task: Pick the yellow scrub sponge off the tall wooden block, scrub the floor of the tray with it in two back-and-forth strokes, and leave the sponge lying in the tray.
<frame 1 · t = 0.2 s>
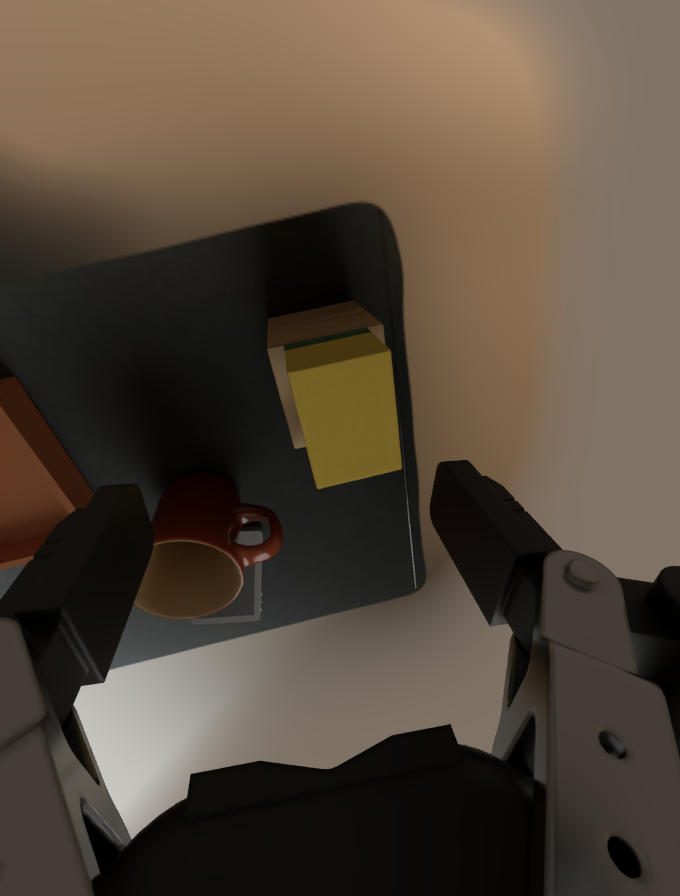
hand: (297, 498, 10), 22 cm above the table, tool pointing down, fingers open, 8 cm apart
sponge: (335, 390, 23), point 9 cm above the table, touching tall wooden block
smartphone: (226, 575, 42), on the table
tall wooden block: (319, 352, 31), on the table
mug: (220, 493, 36), on the table
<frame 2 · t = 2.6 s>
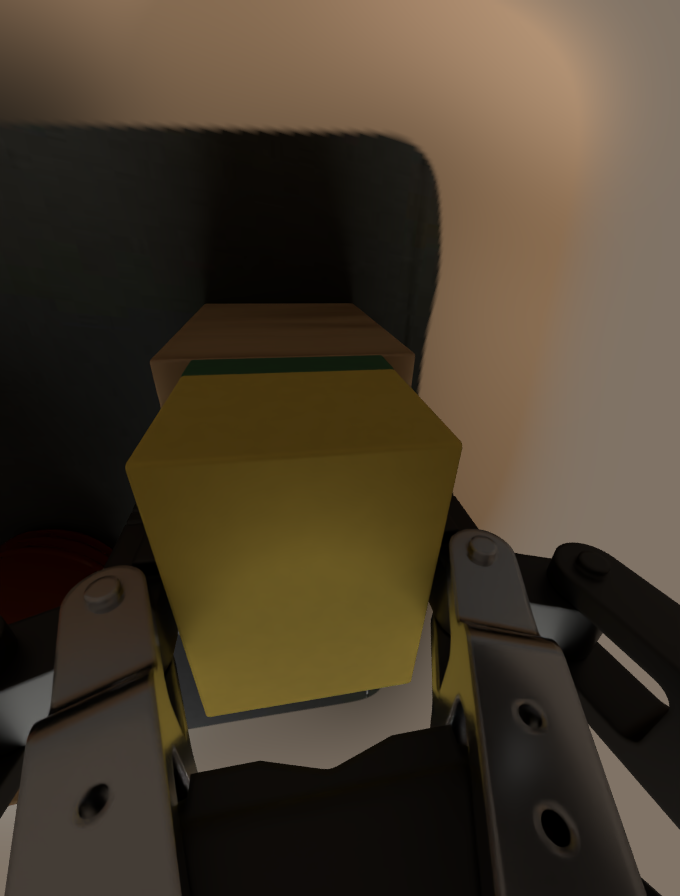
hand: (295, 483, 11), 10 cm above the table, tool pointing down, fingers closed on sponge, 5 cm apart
sponge: (295, 468, 11), point 9 cm above the table, touching gripper, tall wooden block
tall wooden block: (285, 374, 19), on the table
mug: (97, 559, 23), on the table
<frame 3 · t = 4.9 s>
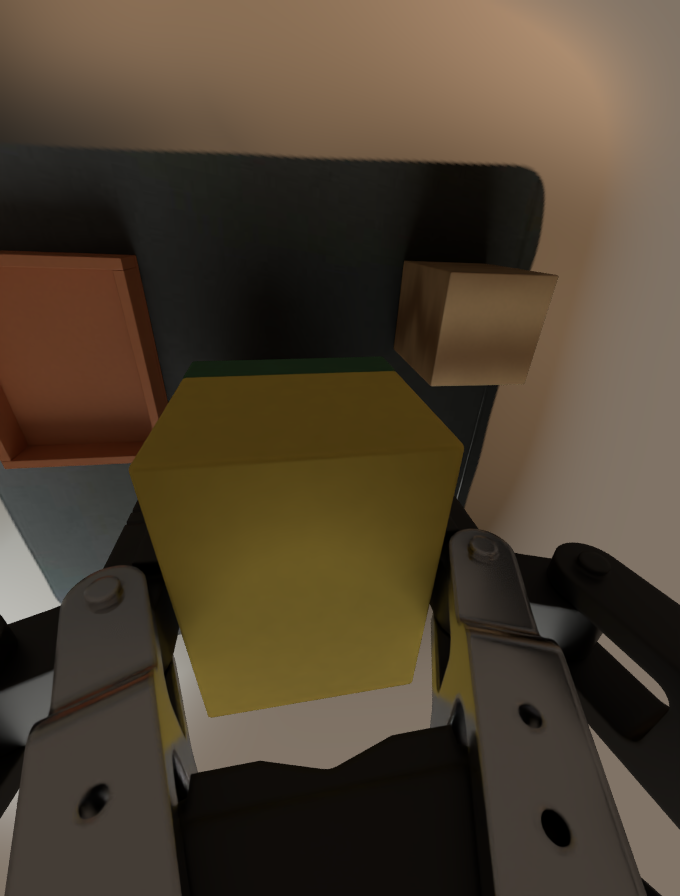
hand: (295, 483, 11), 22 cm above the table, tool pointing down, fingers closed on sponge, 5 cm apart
sponge: (296, 469, 11), point 21 cm above the table, touching gripper
tray: (75, 362, 29), on the table
tall wooden block: (437, 308, 31), on the table
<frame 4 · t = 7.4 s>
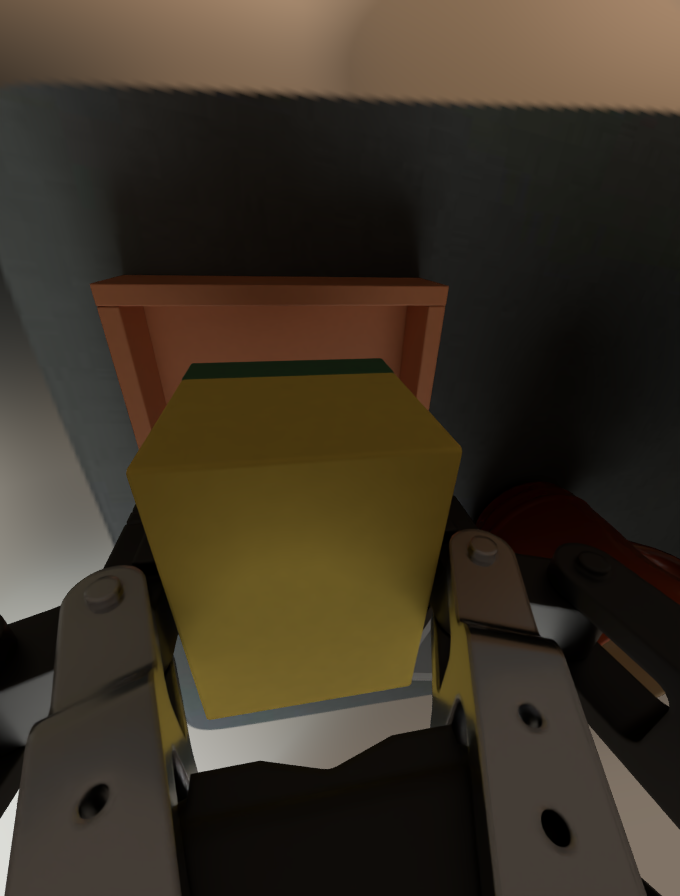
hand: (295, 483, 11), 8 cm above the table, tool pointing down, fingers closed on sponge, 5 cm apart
sponge: (295, 470, 11), point 8 cm above the table, touching gripper
tray: (289, 436, 19), on the table
smartphone: (463, 620, 31), on the table
mug: (535, 513, 26), on the table
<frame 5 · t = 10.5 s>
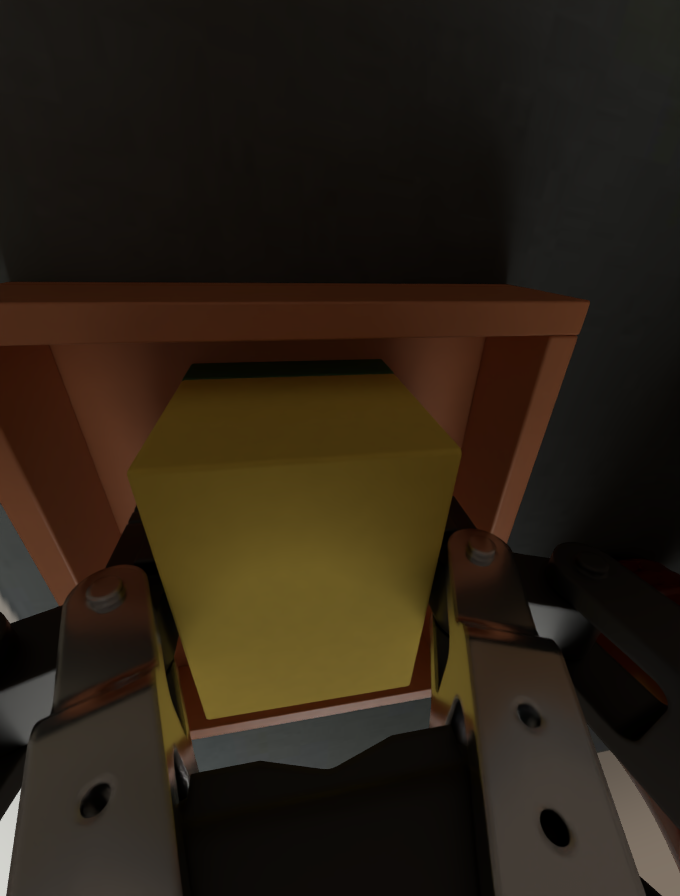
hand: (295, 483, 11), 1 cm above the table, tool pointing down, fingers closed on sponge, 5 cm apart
sponge: (295, 470, 11), point 1 cm above the table, touching gripper, tray
tray: (295, 516, 13), on the table
mug: (617, 590, 19), on the table
when the fingers open (1 cm above the table, at t = 12.7 s): sponge stays where it is, resting on tray.
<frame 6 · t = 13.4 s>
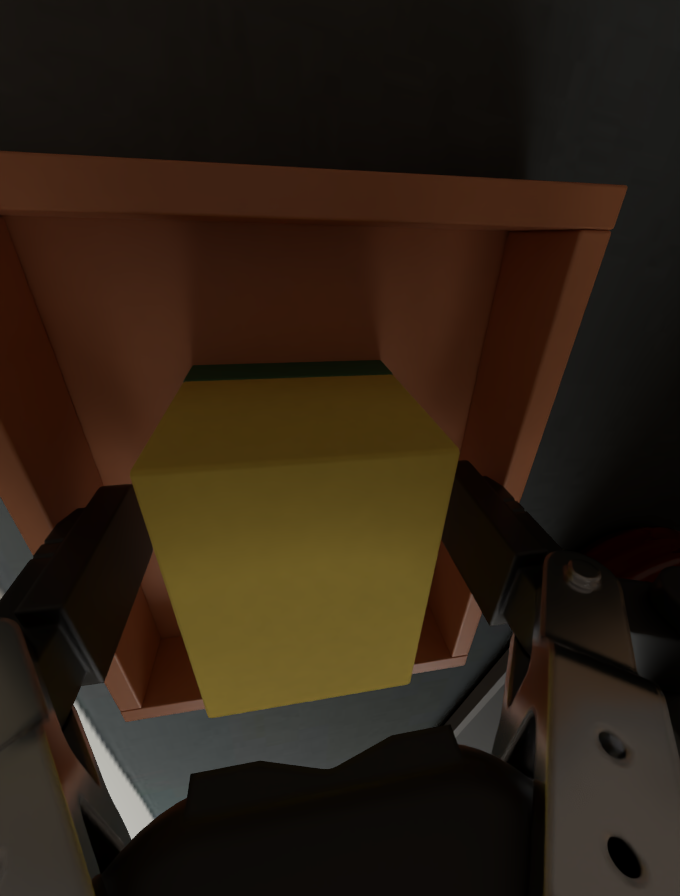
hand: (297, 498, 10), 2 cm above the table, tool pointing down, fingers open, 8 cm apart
sponge: (295, 471, 11), point 1 cm above the table, touching tray
tray: (293, 470, 12), on the table
smartphone: (518, 693, 23), on the table
mug: (631, 564, 19), on the table
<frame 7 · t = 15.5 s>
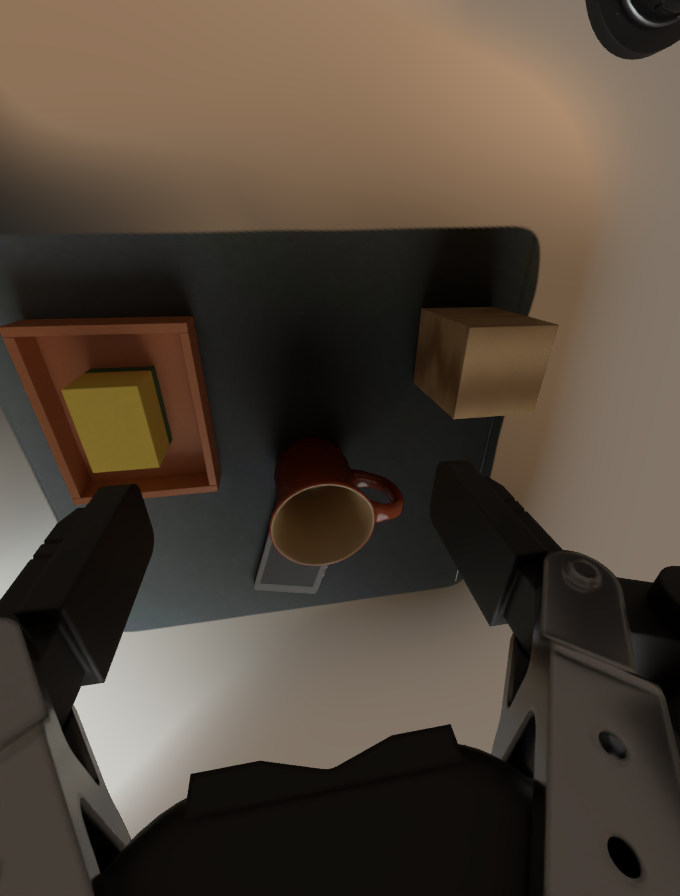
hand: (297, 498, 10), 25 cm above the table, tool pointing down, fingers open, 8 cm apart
sponge: (134, 406, 32), point 1 cm above the table, touching tray
tray: (136, 407, 32), on the table
smartphone: (299, 543, 44), on the table
tall wooden block: (451, 345, 35), on the table
mug: (324, 460, 39), on the table
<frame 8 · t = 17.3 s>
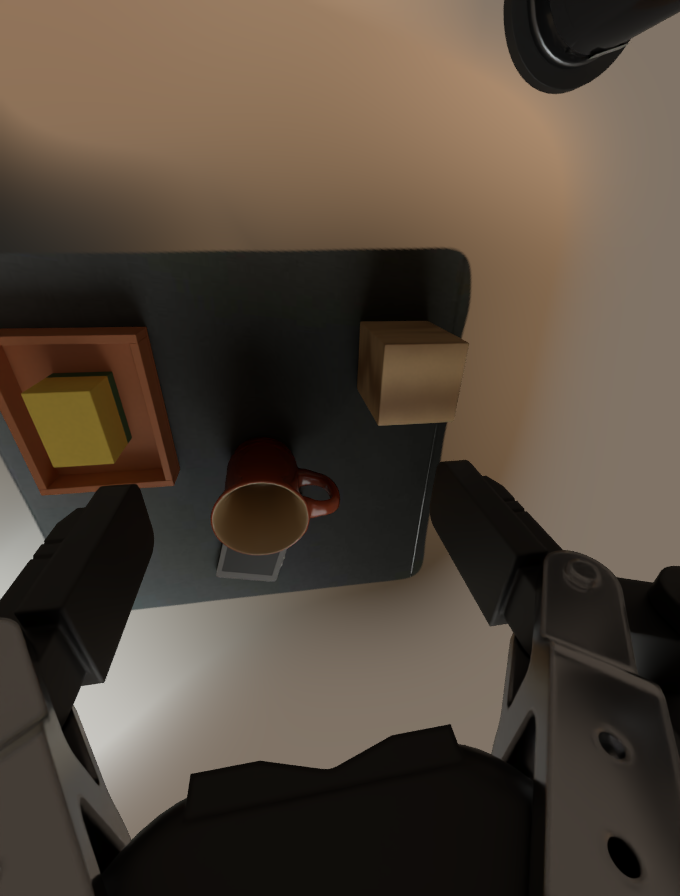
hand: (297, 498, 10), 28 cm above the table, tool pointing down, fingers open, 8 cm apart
sponge: (94, 407, 35), point 1 cm above the table, touching tray
tray: (98, 408, 36), on the table
smartphone: (258, 534, 47), on the table
tall wooden block: (391, 355, 38), on the table
mug: (277, 459, 42), on the table
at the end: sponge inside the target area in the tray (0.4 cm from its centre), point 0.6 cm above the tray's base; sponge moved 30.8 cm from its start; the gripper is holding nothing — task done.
